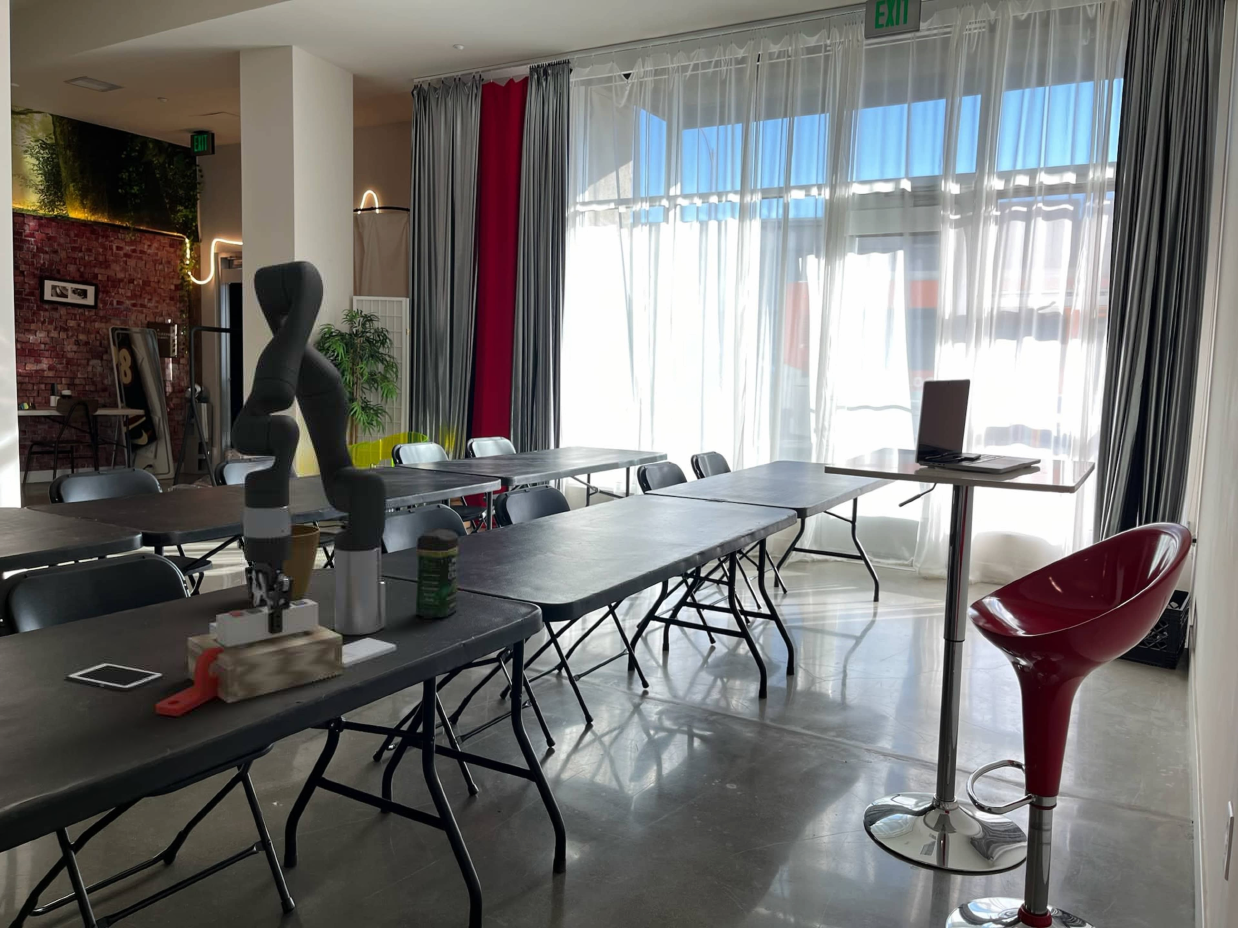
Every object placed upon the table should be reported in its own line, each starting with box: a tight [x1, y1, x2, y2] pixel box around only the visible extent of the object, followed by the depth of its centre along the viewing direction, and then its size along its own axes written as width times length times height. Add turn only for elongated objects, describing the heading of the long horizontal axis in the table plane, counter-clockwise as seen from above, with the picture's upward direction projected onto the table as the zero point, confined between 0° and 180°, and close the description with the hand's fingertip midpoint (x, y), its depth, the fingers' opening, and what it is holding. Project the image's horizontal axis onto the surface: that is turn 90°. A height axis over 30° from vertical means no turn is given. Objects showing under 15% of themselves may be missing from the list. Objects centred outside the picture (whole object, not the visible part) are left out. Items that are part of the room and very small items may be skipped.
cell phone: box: [65, 662, 165, 693], centre depth 151 cm, size 8×15×1 cm, turn 69°
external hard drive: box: [342, 637, 397, 668], centre depth 166 cm, size 2×8×12 cm
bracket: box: [155, 647, 224, 717], centre depth 141 cm, size 12×4×8 cm, turn 167°
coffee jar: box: [415, 528, 459, 619], centre depth 194 cm, size 10×8×19 cm
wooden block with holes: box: [187, 624, 343, 704], centre depth 153 cm, size 20×16×7 cm
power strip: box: [215, 598, 319, 650], centre depth 152 cm, size 16×4×9 cm, turn 136°
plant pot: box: [272, 523, 321, 602], centre depth 204 cm, size 15×15×16 cm
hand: (269, 629), depth 152 cm, fingers closed on power strip, 4 cm apart
